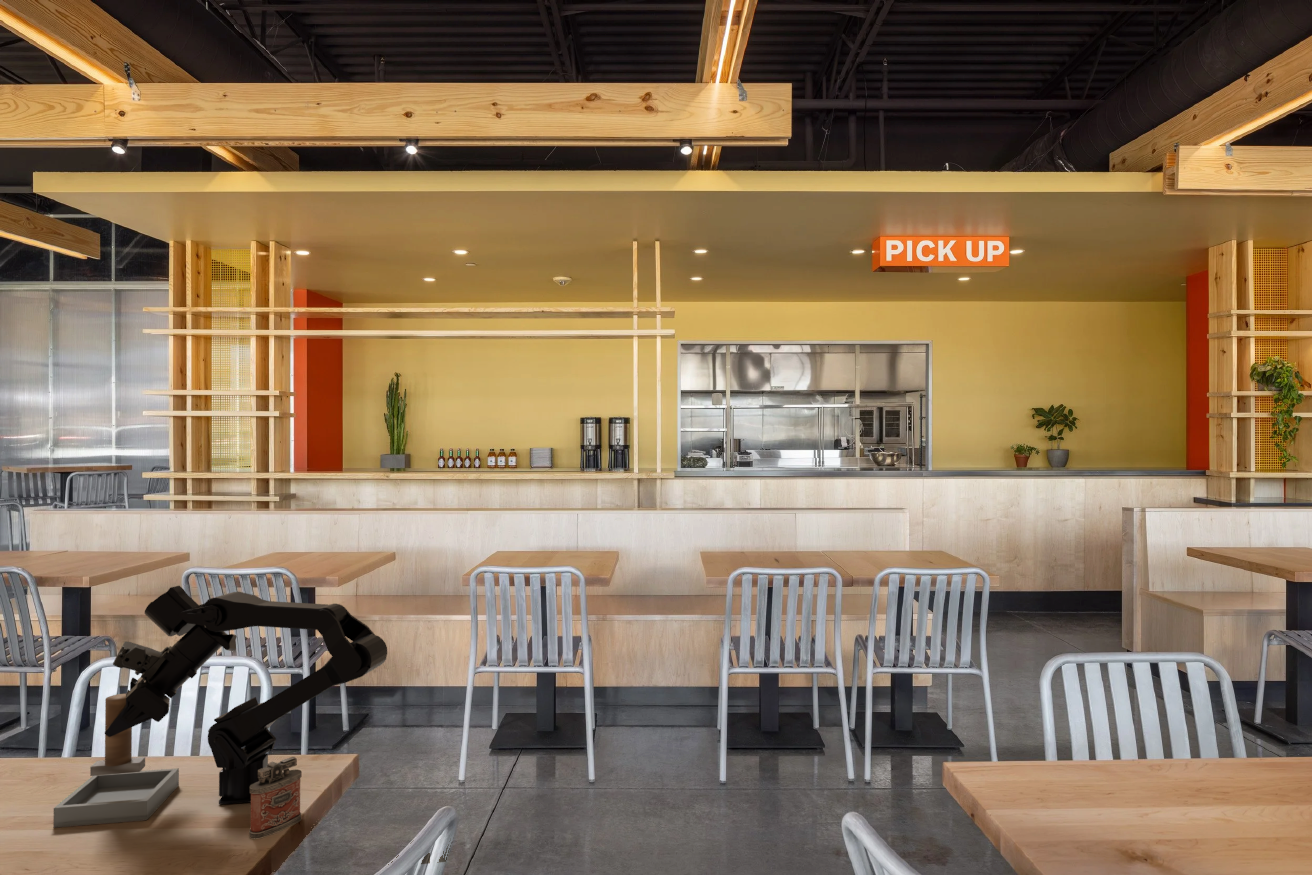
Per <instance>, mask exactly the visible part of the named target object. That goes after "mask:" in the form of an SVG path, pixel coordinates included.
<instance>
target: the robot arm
mask: <svg viewBox="0 0 1312 875" xmlns="http://www.w3.org/2000/svg"><path fill="white" fill-rule="evenodd" d="M144 615H145V616H146V617H147V618H148V619H149V620H151V621H152V622H153V624H155V625H156V626H157V627H158V628H159V630H161V632H163V633H164V634H165V635H167V637H174V636H178V637H180V639H178V641H176V642H175V643H174V644H173V645H169V646H166V647H165V648H164V649H163V650H161V651H159V650H156V649H153V648H152V647H151V648H150V647H148V646H145V645H141V644H137V643H134V642H131V641H124V642H123V644H122V646H121V648H120V649H119V650H118V653H117V655H116V656H115V659H114V661H113V662H112V665H113V666H114V667H116V668H120V669H123V668H125V669H128V670H131V671H135V672H134V674H135V675H136V676H140V677H139V678H138V679H136V678H135V677H131V679H130V684H129V685H130V686H129V688H130V689H127V691H126V693H125V694H126V705H125V707H124V708H123V709H122V710H121V712H120V713H119V714H118V716H117V717H116V718H115V719H114V721H113V722H112V723H111V725H110V726H109V727H108V728H107V730H106V731H105V730H104V736H105V735H107V736H108V737H111V736H113V735H116V734H118V733H120V732H122V731H124V730H127V729H129V728H131V727H132V728H133V727H136V726H138V725H139V724H144V722H147V721H149V720H154V722H157V723H159V722H160V721H162V720H163V718H165V717H166V716H167V715H168V714H169V712H170V706H171V705H170V702H171V701H170V700H171V699H173V697H175V695H177V691H178V689H179V688H180V687H182V685H183V684H185V683H186V681H188V679H189V680H190V679H193V678H194V677H195V676H196V675H197V674H198V670H199V669H200V668H201V667H202V666H203V665H204V664H206V662H207V661H208V660H209V659H210V658H212V656H213V655H215V654H216V653H217V651H218V650H220V649H221V648H223V649H224V650H225V651H229V652H235V651H236V650H237V644H236V640H237V637H238V636H237V635H236V634H233V633H230V634H228V633H227V632H228V631H234V630H241V629H247V628H252V627H263V628H264V627H265V628H282V629H294V630H295V629H299V630H310V631H311V630H312V631H313V630H315V631H317V632H319V634H320V635H321V636H322V638H323V639H322V640H323V641H324V644H325V646H326V649H327V652H328V653H329V655H331V657H330V658H329V659H328V660H327V661H326V663H325V664H324V665H323V666H322V667H320V668H319V669H317V670H315V671H314V672H312V673H310V674H309V675H307V676H305V677H304V678H303V679H300V680H299V681H297V682H295V683H294V684H293V685H290V686H289V687H288V688H285V689H284V690H283V691H280V692H279V693H277V694H276V695H274V696H273V697H270V698H269V699H267V700H266V701H264V702H260V703H258V699H257V697H256V696H255V697H252V698H251V699H249V700H247V701H245V702H243V703H241V704H238V705H236V706H235V707H234V708H232V709H230V710H229V711H227V712H225V713H224V714H222V715H220V716H218V717H216V718H214V722H215V723H213V725H211V726H210V727H209V728H208V729H207V743H208V745H209V746H208V747H209V748H210V751H211V753H212V756H213V759H214V762H215V765H216V768H218V769H221V770H220V771H219V773H218V783H219V784H218V796H219V797H220V798H219V800H218V805H228V804H229V805H231V804H241V803H242V804H243V803H251V793H250V785H252V784H254V783H256V782H258V781H259V778H258V770H259V769H262V768H265V767H267V765H268V764H269V752H271V751H273V750H274V747H275V744H276V741H277V738H276V737H275V735H274V734H273V733H272V732H271V731H270V730H269V728H270V727H271V726H272V725H273V724H274V723H275V722H276V721H277V720H279V719H280V718H281V717H283V716H285V715H287V714H288V713H290V712H291V711H293V710H296V709H297V708H298V707H300V706H302V705H303V704H305V703H307V702H309V701H310V700H312V699H313V698H315V697H317V696H319V695H320V694H322V693H324V692H325V691H327V690H328V689H331V688H332V687H334V686H339V685H343V684H346V683H349V682H352V681H354V680H357V679H360V678H361V677H363V676H365V675H367V674H369V673H370V672H371V671H373V670H375V669H377V668H379V667H380V666H382V665H383V664H384V663H385V662H386V660H387V657H388V646H387V644H386V642H385V640H383V638H382V637H381V636H379V635H377V634H376V633H374V632H373V630H372V629H371V628H370V627H369V626H368V625H367V624H365V623H364V622H362V621H361V620H359V619H358V618H356V617H355V616H353V615H352V614H351V613H350V612H349V610H348V609H347V608H346V607H345V606H344V605H342V604H340V603H331V604H330V603H329V604H326V603H325V604H322V603H309V602H308V603H307V602H305V603H304V602H289V601H274V600H272V601H271V600H270V601H269V600H266V599H262V598H260V597H259V596H257V595H255V594H250V593H247V592H243V591H232V592H228V593H225V594H221V595H217V596H215V597H212V598H208V599H207V600H206V601H205V602H204V603H203V604H202V603H201V604H198V603H197V602H196V601H195V600H194V599H193V598H192V597H191V596H190V595H189V594H188V593H187V592H186V591H185V589H184V588H183V587H182V586H181V585H176V586H175V585H174V586H171V587H169V588H168V590H167V591H165V592H164V593H163V594H161V595H159V596H158V597H156V599H154V600H153V601H151V602H150V603H149V604H148V605H147V606H146V608H145V610H144ZM140 674H141V675H140Z"/></svg>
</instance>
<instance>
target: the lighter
mask: <svg viewBox="0 0 1312 875" xmlns="http://www.w3.org/2000/svg"><path fill="white" fill-rule="evenodd" d="M297 765H298V759H297V757H296V756H290V757H288V758H287V757H286V758H284V759H282V760H280V761H279V762H275V761H271V762H268V765H267V767H265V768H262V769H259V770H258V778H259V781H258V782H256V783H254V784H252V785H250V793H251V802H250V829H248V830H249V831H248V837H249V838H250V839H252V840H259V839H262V838H265V837H269V836H271V835H274V834H277V833H279V832H281V831H284V830H286V829H289V828H290V827H292V826H294V825H296V824H297V823H300V821H302V813H301V778H302V773H303V772H302V770H300V769H290V768H294V767H296V766H297Z"/></svg>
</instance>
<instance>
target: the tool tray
mask: <svg viewBox="0 0 1312 875" xmlns="http://www.w3.org/2000/svg"><path fill="white" fill-rule="evenodd" d="M179 779H180V768H177V767H176V768H166V769H165V768H164V769H163V768H162V769H149V770H148V769H147V770H141V771H140V772H133V773H121V774H109V775H97V776H90V778H88V779H87V780H86V781H84V782H83V784H81V785H80V786H79V787H78V788H76V789H75V790H74V791H73V792H71V793H70V794H69V795H68V796H67V797H65V798H64V799H62V801H61V802H59V803H58V804H57V805H56V806H54V807H53V822H52V823H53V828H65V827H77V826H78V827H79V826H89V825H102V824H114V823H116V824H117V823H128V822H139V821H147V820H148V819H150V818H151V816H152V815H154V813H155V812H156V810H158V809H159V807H160V806H162V804H163V803H164V802H165V801H166V800H167V799H168V798H169V797H170V795H172V794H173V792H175V790H176V789H178V787H179V785H180V782H179V781H180V780H179Z"/></svg>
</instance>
